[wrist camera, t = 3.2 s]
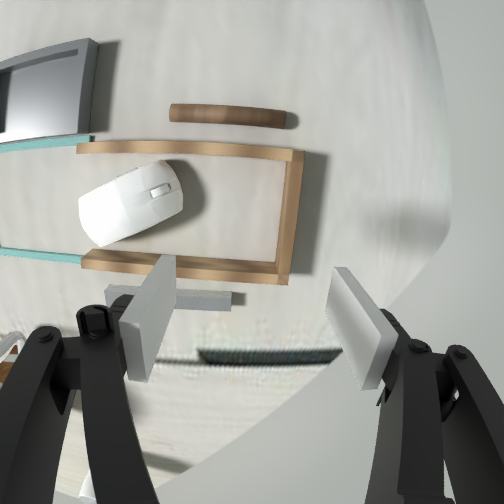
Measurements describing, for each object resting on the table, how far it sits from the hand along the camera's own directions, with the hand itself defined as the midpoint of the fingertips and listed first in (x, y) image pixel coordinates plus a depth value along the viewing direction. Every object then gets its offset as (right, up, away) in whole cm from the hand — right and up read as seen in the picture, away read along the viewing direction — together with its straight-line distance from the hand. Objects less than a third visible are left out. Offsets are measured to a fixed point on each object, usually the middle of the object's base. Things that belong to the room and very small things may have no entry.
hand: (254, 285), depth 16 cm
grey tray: (-27, +22, +12) cm, 37 cm away
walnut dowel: (-3, +16, +13) cm, 21 cm away
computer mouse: (-14, +8, +18) cm, 24 cm away
